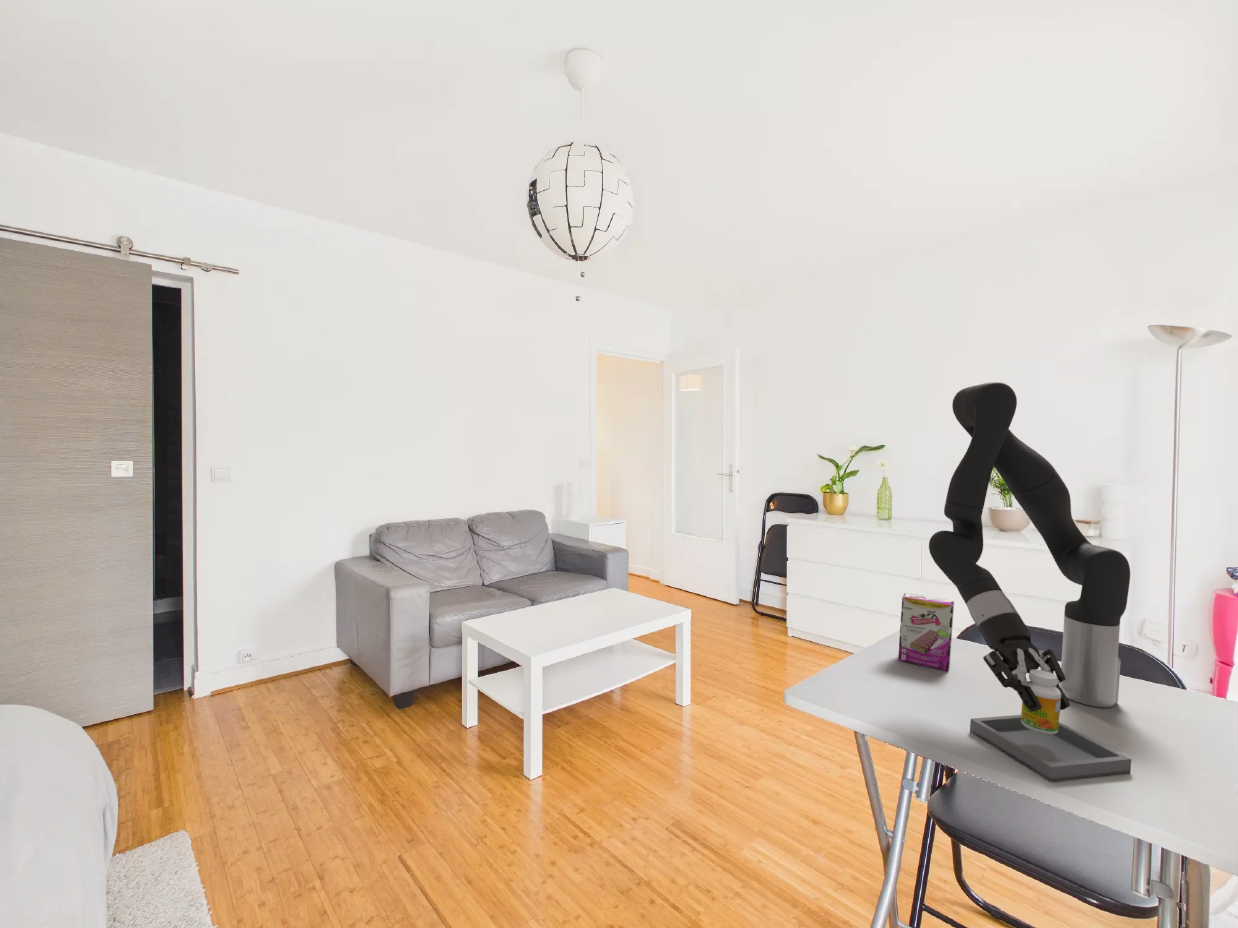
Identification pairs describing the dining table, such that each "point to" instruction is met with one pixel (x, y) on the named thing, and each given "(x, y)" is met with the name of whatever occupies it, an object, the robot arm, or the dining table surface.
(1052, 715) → the supplement bottle
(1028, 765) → the tray
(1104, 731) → the dining table surface
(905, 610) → the candy bar box
